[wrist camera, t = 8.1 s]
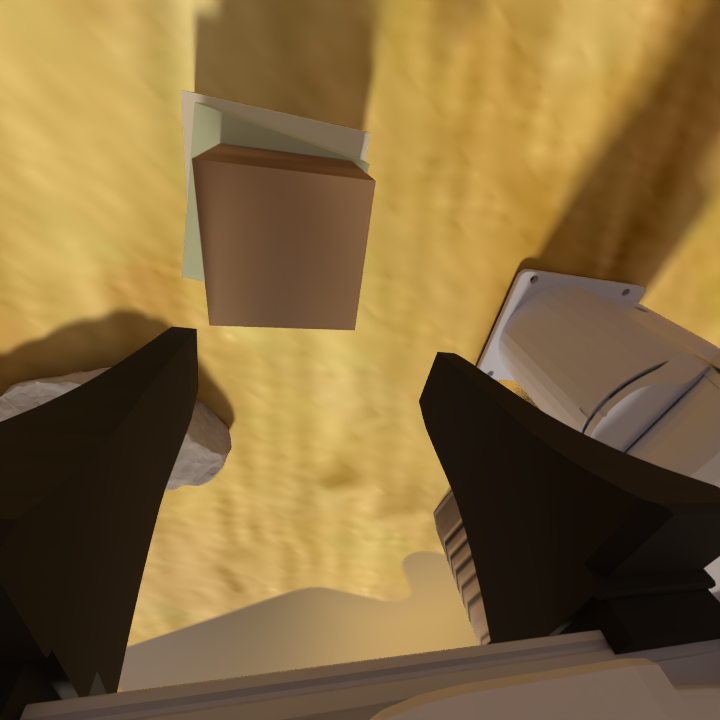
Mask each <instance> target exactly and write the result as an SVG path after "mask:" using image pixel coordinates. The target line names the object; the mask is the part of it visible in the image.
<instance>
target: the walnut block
mask: <svg viewBox="0 0 720 720" xmlns="http://www.w3.org/2000/svg"><path fill="white" fill-rule="evenodd" d="M192 166H193V175H194V185H195V194H196V203H197V213H198V222H199V231H200V241H201V250H202V259H203V269H204V278H205V287H206V297H207V306H208V315H209V325H214V326H244V327H273V328H303V329H333V330H355V324H356V317H357V310H358V303H359V296H360V289H361V281H362V274H363V267H364V260H365V253H366V245H367V238H368V231H369V224H370V217H371V210H372V202H373V195H374V188H375V180H374V179H373V178H371V177H370V176H369V175H368V174H367V173H365V172H364V171H363V170H362V169H361V168H359V167H358V166H357V165H356V164H355V163H353V162H352V161H351V160H344V159H336V158H329V157H321V156H313V155H306V154H298V153H290V152H283V151H275V150H268V149H260V148H252V147H245V146H237V145H229V144H222V143H219V144H217V145H216V146H214V147H212V148H210V149H208V150H206V151H205V152H203V153H201V154H199V155H197V156H196V157H194V158H192Z"/></svg>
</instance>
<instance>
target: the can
mask: <svg viewBox="0 0 720 720" xmlns="http://www.w3.org/2000/svg"><path fill="white" fill-rule="evenodd" d="M434 518H435V524H436V530H437V533H438V536H439V538H440V541H441V544H442V547H443V549H444V552H445V555H446V558H447V560H448V562H449V565H450V568H451V571H452V574H453V577H454V579H455V582H456V584H457V588H458V590H459V593H460V595H461V599H462V601H463V604H464V607H465V609H466V612H467V615H468V618H469V621H470V623H471V626H472V628H473V631H474V634H475V637H476V640H477V642H478V645H487V644H491V641H490V635H489V630H488V625H487V620H486V615H485V610H484V605H483V600H482V596H481V591H480V587H479V583H478V579H477V574H476V570H475V566H474V562H473V558H472V554H471V550H470V547H469V543H468V539H467V536H466V532H465V528H464V525H463V522H462V519H461V515H460V512H459V509H458V505H457V502H456V499H455V497H454V494H453V491H452V490H451V491H450V493H449V494H448V495H447V496H446V498H445V499H444V500H443V501H442V502H441V504H440V505H439V506H438V507H437V509H436V510H435V511H434Z"/></svg>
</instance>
